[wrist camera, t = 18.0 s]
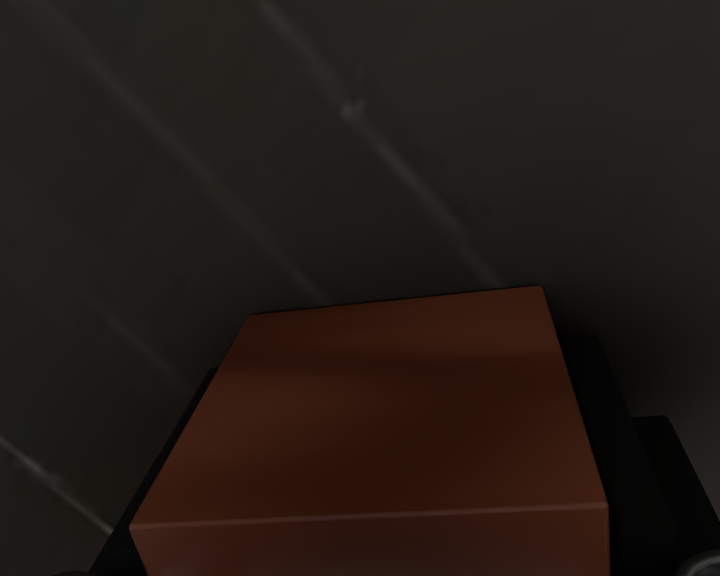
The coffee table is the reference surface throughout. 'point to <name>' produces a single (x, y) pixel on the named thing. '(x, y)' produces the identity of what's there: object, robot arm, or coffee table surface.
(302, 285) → the coffee table surface
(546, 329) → the block
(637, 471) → the robot arm
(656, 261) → the coffee table surface
